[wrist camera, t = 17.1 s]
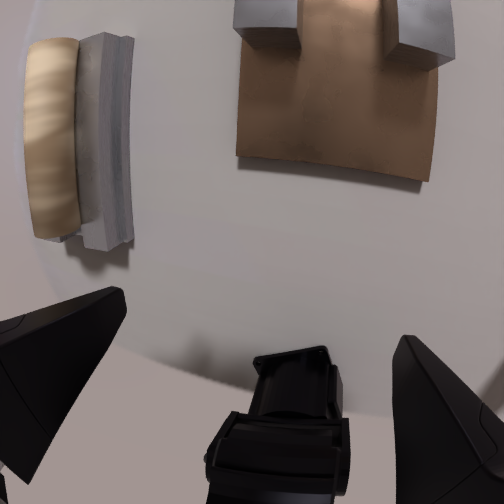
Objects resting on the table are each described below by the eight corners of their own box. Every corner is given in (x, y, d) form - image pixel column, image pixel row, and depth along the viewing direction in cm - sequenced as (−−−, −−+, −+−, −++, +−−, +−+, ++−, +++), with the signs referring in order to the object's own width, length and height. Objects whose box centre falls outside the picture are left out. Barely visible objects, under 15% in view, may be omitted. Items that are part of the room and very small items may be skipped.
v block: (134, 238, 23) (112, 252, 20) (61, 227, 25) (40, 239, 22) (134, 38, 16) (110, 30, 14) (56, 62, 18) (32, 60, 15)
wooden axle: (91, 222, 21) (55, 241, 17) (59, 218, 21) (25, 235, 18) (90, 41, 15) (50, 34, 11) (56, 54, 16) (19, 52, 12)
